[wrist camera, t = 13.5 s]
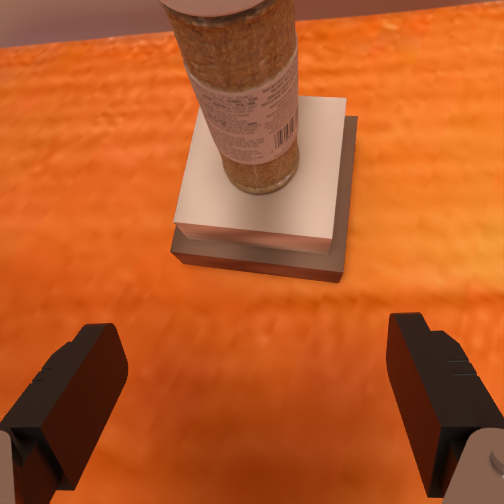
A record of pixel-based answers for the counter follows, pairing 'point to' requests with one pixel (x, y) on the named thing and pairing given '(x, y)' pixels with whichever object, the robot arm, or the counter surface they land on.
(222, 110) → the sprinkles bottle
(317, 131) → the stand
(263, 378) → the counter surface
